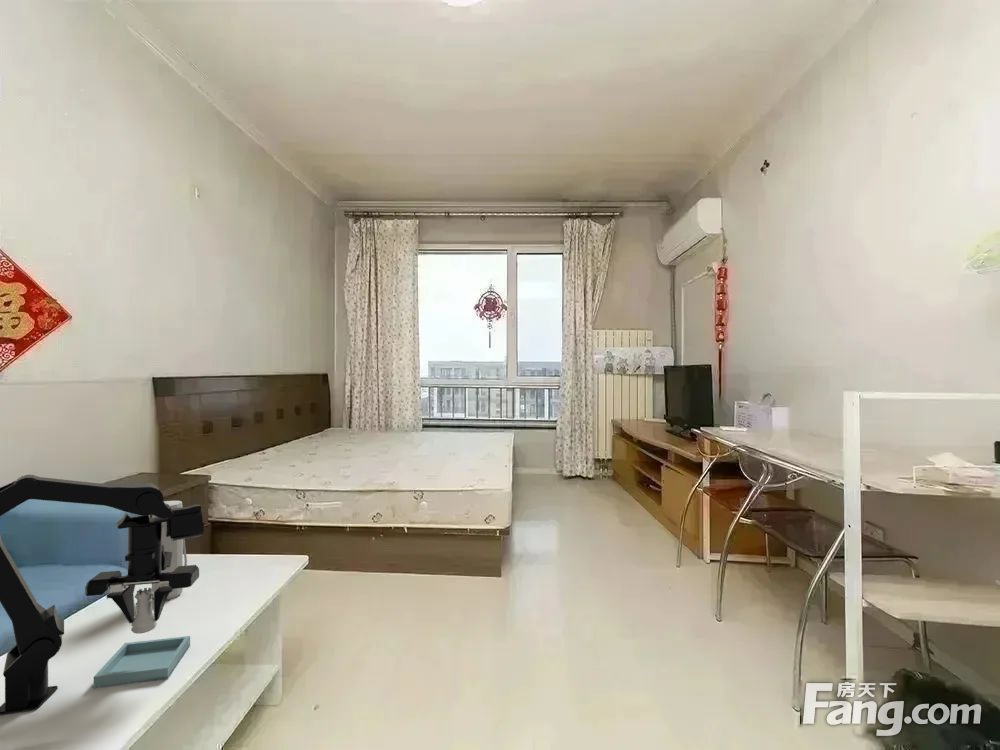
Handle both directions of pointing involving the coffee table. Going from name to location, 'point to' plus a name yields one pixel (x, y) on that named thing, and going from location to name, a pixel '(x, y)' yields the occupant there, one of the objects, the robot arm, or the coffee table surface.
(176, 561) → the water bottle
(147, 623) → the rook chess piece
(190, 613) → the coffee table surface
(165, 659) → the slate tray
